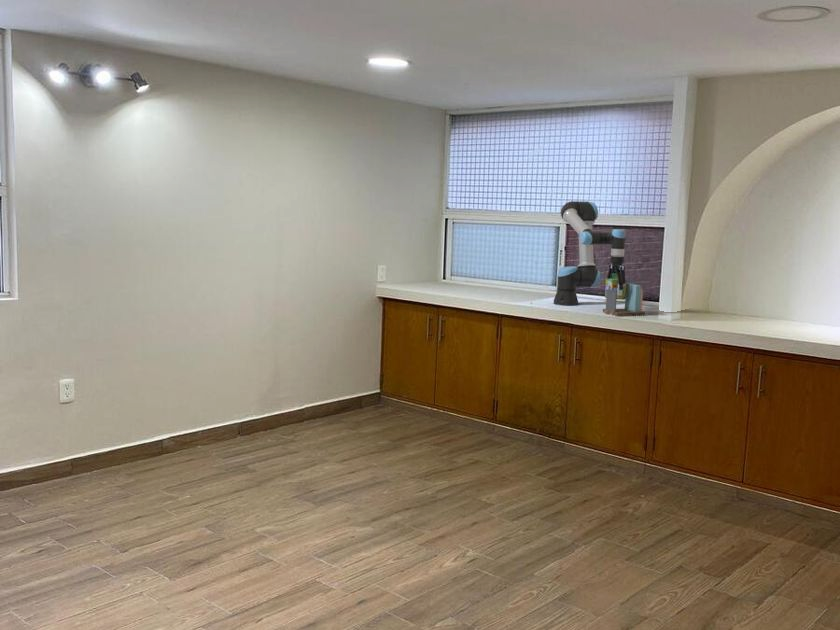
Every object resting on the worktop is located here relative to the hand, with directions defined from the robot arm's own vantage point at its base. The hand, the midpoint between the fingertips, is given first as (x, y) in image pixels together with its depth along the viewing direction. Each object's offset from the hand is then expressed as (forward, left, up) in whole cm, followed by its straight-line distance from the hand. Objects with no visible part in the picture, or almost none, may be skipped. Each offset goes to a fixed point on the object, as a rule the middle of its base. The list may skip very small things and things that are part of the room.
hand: (615, 294), depth 471 cm
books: (+7, +8, -9) cm, 14 cm away
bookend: (+7, -6, -9) cm, 13 cm away
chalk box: (0, 0, -3) cm, 3 cm away
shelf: (+7, +2, -11) cm, 13 cm away
